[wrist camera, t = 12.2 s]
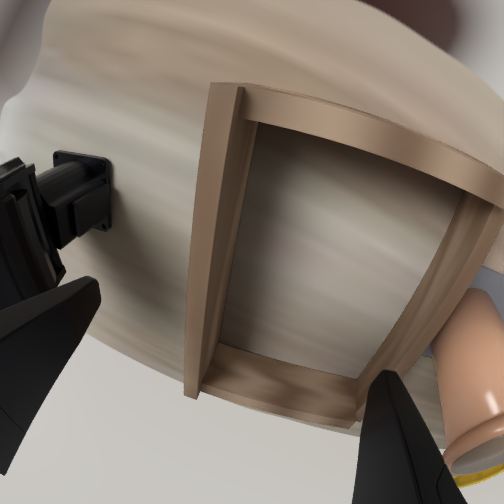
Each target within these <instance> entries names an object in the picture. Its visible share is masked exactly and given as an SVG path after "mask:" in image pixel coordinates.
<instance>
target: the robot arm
mask: <svg viewBox="0 0 504 504" xmlns="http://www.w3.org/2000/svg"><path fill="white" fill-rule="evenodd" d="M102 163H103V164H104V166H103V165H102ZM53 165H54V167H53V168H51V169H49V170H47V171H45V172H43V173H41V174H39V175H37V176H36V175H35V171H36V170H35V165H34V163H33V164H29V165H25V164H24V163H23V162H22V161H21V159H20V158H19V157H17V158H14V159H11V160H9V161H7V162H5V163H3V164H1V165H0V474H2V475H5V474H6V473H7V471H8V468H9V466H10V464H11V462H12V460H13V458H14V456H15V454H16V452H17V450H18V448H19V446H20V444H21V442H22V440H23V438H24V436H25V434H26V432H27V430H28V429H29V427H30V425H31V423H32V421H33V419H34V417H35V416H36V414H37V412H38V410H39V409H40V407H41V405H42V403H43V402H44V400H45V398H46V396H47V395H48V393H49V391H50V390H51V388H52V386H53V385H54V383H55V381H56V380H57V378H58V376H59V374H60V373H61V372H62V370H63V368H64V366H65V365H66V364H67V362H68V360H69V359H70V357H71V356H72V354H73V352H74V351H75V349H76V348H77V346H78V345H79V343H80V342H81V340H82V338H83V336H84V334H85V332H86V330H87V328H88V327H89V325H90V323H91V321H92V319H93V317H94V315H95V314H96V312H97V310H98V308H99V306H100V304H101V294H100V288H99V283H98V281H97V280H96V279H94V278H92V277H90V276H84V277H82V278H79V279H77V280H74V281H72V282H69V283H66V284H64V285H61V286H59V287H57V286H58V285H59V283H60V281H61V280H62V278H63V277H64V275H65V273H66V269H65V267H64V265H63V264H62V262H61V259H60V256H59V253H58V251H57V249H60V250H61V249H62V248H64V247H65V246H66V245H67V244H69V243H70V242H71V241H72V240H74V239H75V238H76V237H81V236H82V235H83V234H85V233H86V232H87V231H89V230H90V229H91V228H95V229H98V230H101V231H104V232H107V231H108V230H109V229H110V228H111V215H110V188H109V161H108V160H107V159H106V158H104V157H98V156H92V155H86V154H80V153H74V152H67V151H61V150H58V151H56V152H54V154H53ZM105 225H106V226H105ZM444 463H445V461H444V459H443V457H442V455H441V453H440V451H439V449H438V447H437V445H436V443H435V441H434V439H433V437H432V435H431V433H430V431H429V429H428V428H427V426H426V424H425V422H424V420H423V418H422V416H421V414H420V413H419V411H418V409H417V407H416V405H415V403H414V402H413V400H412V398H411V396H410V394H409V393H408V391H407V389H406V387H405V386H404V384H403V382H402V380H401V379H400V377H399V375H398V373H397V372H396V371H394V370H389V369H383V370H381V372H380V373H379V374H378V375H377V377H376V378H375V379H374V380H373V381H372V383H371V384H370V386H369V389H368V395H367V401H366V407H365V412H364V418H363V423H362V428H361V434H360V443H359V454H358V462H357V471H356V478H355V486H354V492H353V499H352V504H467V502H466V500H465V499H464V497H463V495H462V494H461V492H460V490H459V488H458V486H457V485H456V483H455V481H454V479H453V477H452V475H451V473H450V471H449V469H448V467H447V465H446V464H444Z"/></svg>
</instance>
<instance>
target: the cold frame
mask: <svg viewBox="0 0 504 504" xmlns="http://www.w3.org/2000/svg"><path fill="white" fill-rule="evenodd" d="M258 122H262V123H267V124H271V125H276V126H280V127H284V128H288V129H292V130H296V131H300V132H304V133H308V134H312V135H315V136H319V137H322V138H326V139H329V140H333V141H336V142H340V143H343V144H346V145H349V146H353V147H356V148H359V149H362V150H365V151H368V152H371V153H374V154H377V155H380V156H382V157H385V158H388V159H391V160H394V161H396V162H399V163H402V164H404V165H407V166H410V167H412V168H415V169H417V170H420V171H422V172H425V173H427V174H430V175H432V176H434V177H437V178H439V179H441V180H444V181H446V182H448V183H450V184H453V185H455V186H457V187H459V188H461V189H464V190H465V191H464V193H463V196H462V198H461V200H460V203H459V205H458V208H457V210H456V212H455V214H454V217H453V219H452V221H451V223H450V226H449V228H448V230H447V232H446V234H445V236H444V238H443V240H442V242H441V244H440V246H439V249H438V250H437V252H436V254H435V256H434V258H433V260H432V262H431V264H430V266H429V268H428V270H427V272H426V273H425V275H424V277H423V279H422V281H421V282H420V284H419V286H418V288H417V289H416V291H415V293H414V295H413V296H412V298H411V300H410V301H409V303H408V305H407V306H406V308H405V310H404V311H403V313H402V315H401V316H400V318H399V319H398V321H397V322H396V324H395V326H394V327H393V329H392V330H391V332H390V333H389V335H388V336H387V338H386V339H385V341H384V342H383V344H382V345H381V347H380V348H379V350H378V351H377V352H376V354H375V355H374V357H373V358H372V359H371V361H370V362H369V364H368V365H367V366H366V368H365V369H364V370H363V372H362V373H361V374H360V376H359V377H358V378H357V379H352V378H348V377H343V376H339V375H334V374H330V373H325V372H321V371H317V370H313V369H309V368H305V367H301V366H297V365H293V364H289V363H286V362H282V361H278V360H275V359H271V358H268V357H264V356H261V355H257V354H254V353H250V352H247V351H244V350H240V349H237V348H234V347H231V346H228V345H224V344H221V343H219V338H220V332H221V326H222V320H223V314H224V308H225V302H226V296H227V290H228V285H229V279H230V273H231V267H232V262H233V256H234V250H235V245H236V239H237V234H238V228H239V222H240V217H241V212H242V206H243V201H244V195H245V190H246V185H247V179H248V174H249V169H250V163H251V158H252V153H253V148H254V143H255V137H256V132H257V127H258ZM503 222H504V175H502V174H501V173H499V172H498V171H496V170H495V169H493V168H492V167H490V166H488V165H487V164H485V163H483V162H481V161H479V160H477V159H475V158H473V157H471V156H469V155H467V154H465V153H463V152H461V151H459V150H457V149H455V148H453V147H451V146H449V145H447V144H445V143H443V142H440V141H438V140H436V139H434V138H431V137H429V136H427V135H424V134H422V133H420V132H417V131H415V130H412V129H410V128H407V127H405V126H402V125H400V124H397V123H394V122H392V121H389V120H386V119H383V118H380V117H378V116H375V115H372V114H369V113H366V112H363V111H360V110H357V109H353V108H350V107H347V106H343V105H340V104H337V103H333V102H330V101H326V100H322V99H319V98H315V97H311V96H307V95H303V94H298V93H294V92H290V91H285V90H281V89H276V88H271V87H266V86H261V85H255V84H249V83H210V89H209V96H208V102H207V109H206V115H205V122H204V129H203V136H202V144H201V151H200V159H199V167H198V176H197V184H196V193H195V203H194V213H193V223H192V235H191V246H190V259H189V273H188V288H187V306H186V327H185V356H184V395H185V396H187V397H191V398H193V399H196V400H197V398H198V395H199V393H200V391H201V392H204V393H207V394H210V395H213V396H216V397H219V398H222V399H225V400H229V401H232V402H235V403H238V404H242V405H245V406H249V407H252V408H256V409H259V410H263V411H267V412H271V413H274V414H278V415H283V416H287V417H291V418H295V419H300V420H304V421H309V422H314V423H319V424H324V425H329V426H335V427H341V428H347V429H349V428H350V427H351V426H352V425H353V424H354V423H355V421H358V422H361V421H362V420H363V418H364V412H365V407H366V401H367V395H368V389H369V386H370V384H371V383H372V381H373V380H374V379H375V378H376V377H377V375H378V374H379V373H380V372H381V370H383V369H389V370H394V371H396V372H397V373H398V375H399V377H400V379H401V378H402V377H403V376H404V375H405V374H406V372H407V371H408V370H409V369H410V368H411V367H412V365H413V364H414V363H415V362H416V360H417V359H418V358H419V357H420V355H421V354H422V353H423V352H424V350H425V349H426V348H427V347H428V345H429V344H430V343H431V341H432V340H433V339H434V337H435V336H436V335H437V333H438V332H439V331H440V329H441V328H442V326H443V325H444V324H445V322H446V321H447V319H448V318H449V316H450V315H451V313H452V312H453V311H454V309H455V308H456V306H457V304H458V303H459V301H460V300H461V298H462V297H463V295H464V294H465V292H466V290H467V289H468V287H469V286H470V284H471V282H472V281H473V279H474V277H475V276H476V274H477V272H478V270H479V269H480V267H481V265H482V263H483V261H484V260H485V258H486V256H487V254H488V252H489V250H490V248H491V247H492V245H493V243H494V241H495V239H496V237H497V235H498V233H499V231H500V228H501V226H502V224H503Z"/></svg>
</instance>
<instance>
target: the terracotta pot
mask: <svg viewBox="0 0 504 504" xmlns="http://www.w3.org/2000/svg"><path fill="white" fill-rule="evenodd" d="M429 345H430V349H431V354H432V358H433V363H434V368H435V373H436V378H437V384H438V389H439V395H440V402H441V408H442V415H443V423H444V432H445V441H446V450H445V451H444V453H443V455H442V457H443V459H444V461H445V463H444V464H446V465H447V467H448V469H449V471H450V473H451V475H452V476H463V475H470V474H474V473H478V472H481V471H485V470H487V469H490V468H493V467H495V466H498V465H500V464H502V463H504V321H503V319H502V317H501V315H500V313H499V311H498V309H497V307H496V305H495V303H494V302H493V300H492V298H491V296H490V295H489V294H488V293H487V292H486V291H484V290H482V289H479V288H468V289H467V290H466V292H465V294H464V295H463V297H462V298H461V300H460V301H459V303H458V304H457V306H456V308H455V309H454V311H453V312H452V313H451V315H450V316H449V318H448V319H447V321H446V322H445V324H444V325H443V326H442V328H441V329H440V331H439V332H438V333H437V335H436V336H435V337H434V339H433V340H432V341H431V343H430V344H429Z"/></svg>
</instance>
